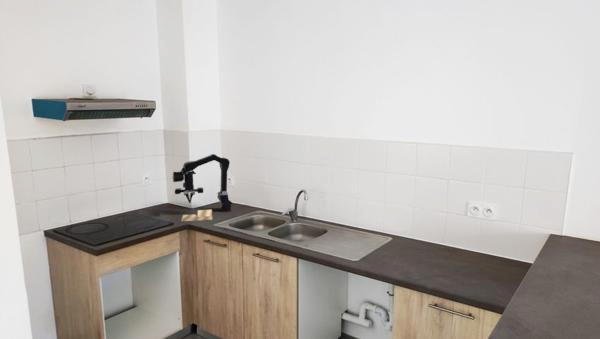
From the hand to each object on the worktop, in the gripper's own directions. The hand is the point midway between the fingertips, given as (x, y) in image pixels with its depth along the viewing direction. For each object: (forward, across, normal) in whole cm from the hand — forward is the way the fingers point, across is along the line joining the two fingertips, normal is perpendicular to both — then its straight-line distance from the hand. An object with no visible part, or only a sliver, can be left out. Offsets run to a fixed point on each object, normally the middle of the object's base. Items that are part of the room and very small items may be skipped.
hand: (189, 202), depth 285 cm
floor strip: (+10, -5, +10) cm, 15 cm away
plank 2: (+8, -10, +2) cm, 13 cm away
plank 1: (+10, 0, +2) cm, 10 cm away
